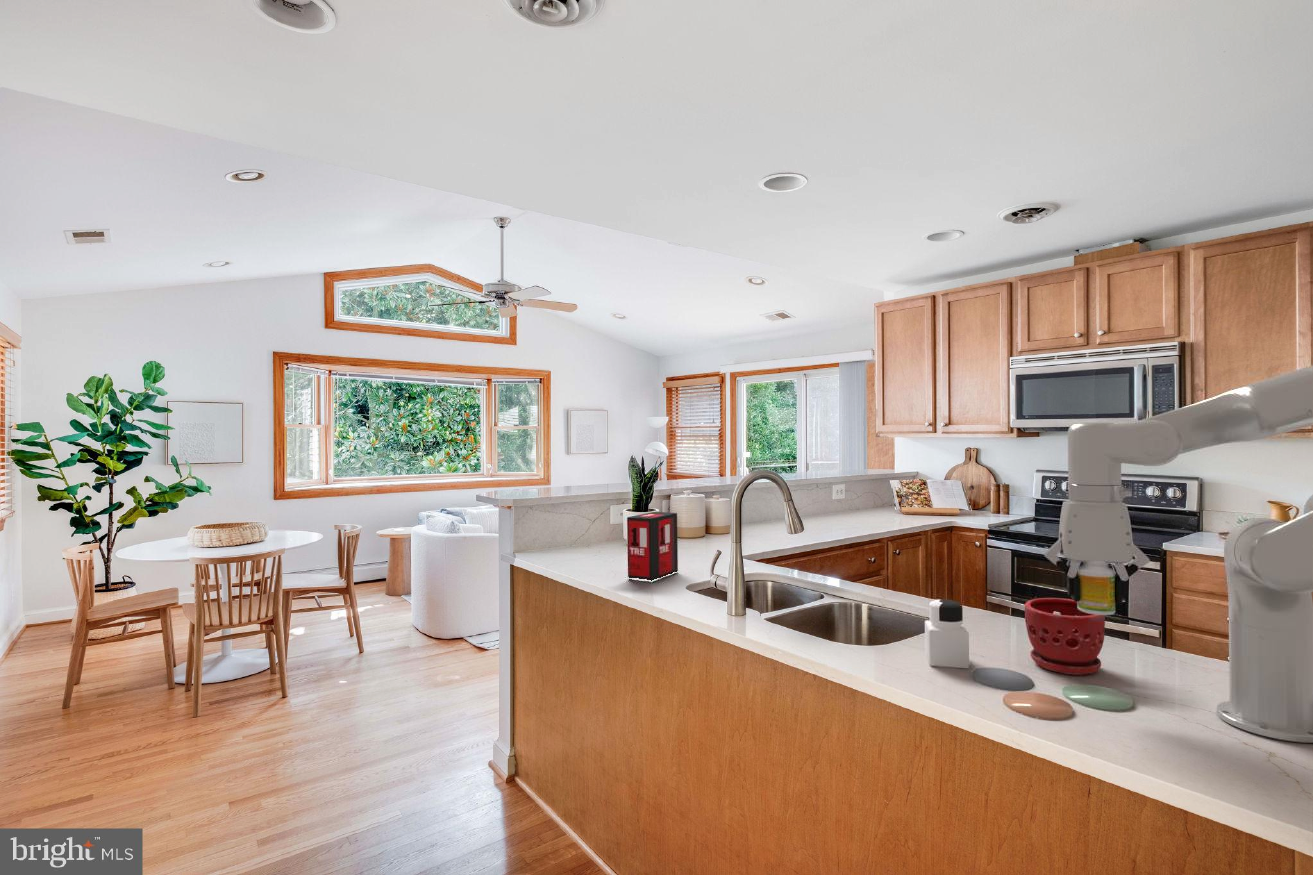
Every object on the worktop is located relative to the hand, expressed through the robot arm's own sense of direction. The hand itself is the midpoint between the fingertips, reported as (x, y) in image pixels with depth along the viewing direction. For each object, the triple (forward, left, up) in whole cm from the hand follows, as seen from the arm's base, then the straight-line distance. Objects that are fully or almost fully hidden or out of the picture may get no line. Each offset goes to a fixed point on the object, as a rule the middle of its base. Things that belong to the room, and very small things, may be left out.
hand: (1096, 600), depth 111 cm
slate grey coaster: (+14, -4, -17) cm, 23 cm away
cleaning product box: (+108, -66, -17) cm, 128 cm away
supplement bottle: (0, 0, -2) cm, 2 cm away
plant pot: (+2, -15, -17) cm, 23 cm away
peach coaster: (+10, +7, -17) cm, 21 cm away
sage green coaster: (0, 0, -17) cm, 17 cm away
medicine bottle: (+23, -11, -17) cm, 31 cm away
